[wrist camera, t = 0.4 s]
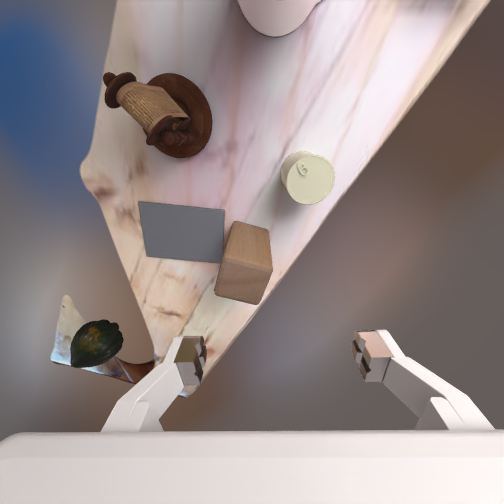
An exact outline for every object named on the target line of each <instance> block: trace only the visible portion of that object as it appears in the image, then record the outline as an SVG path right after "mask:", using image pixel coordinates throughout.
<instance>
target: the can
mask: <svg viewBox="0 0 504 504" xmlns="http://www.w3.org/2000/svg"><path fill="white" fill-rule="evenodd" d="M281 180H282V183H283V184H284V186H285V187H286V188H287V191H288V193H289V195H290V196H291V198H292V199H293V200H295V201H296V202H298V203H300V204H304V205H311V204H315V203H318V202H320V201H322V200H323V199H324V198H325V197H326V196H327V195H328V194H329V193H330V191H331V190H332V188H333V185H334V181H335V173H334V169H333V167H332V165H331V163H330V162H329V161H328V160H327V159H325V158H324V157H322V156H318V155H313V154H311V153H309V152H306V151H298V152H295V153H293V154H291V155H290V156H289V157H287V158H286V160H285V161H284V163H283V165H282V167H281Z"/></svg>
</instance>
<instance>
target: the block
mask: <svg viewBox="0 0 504 504" xmlns="http://www.w3.org/2000/svg"><path fill="white" fill-rule="evenodd" d="M272 272H273V267H272V258H271V249H270V240H269V231H268V230H266V229H263V228H260V227H256V226H252V225H249V224H245V223H242V222H238V221H234V222H233V224H232V227H231V231H230V234H229V237H228V241H227V244H226V248H225V251H224V254H223V258H222V262H221V265H220V269H219V273H218V277H217V281H216V285H215V288H214V291H215V295H217V296H220V297H224V298H229V299H233V300H237V301H241V302H245V303H249V304H254V305H258V304H259V303H260V301H261V299H262V296H263V294H264V291H265V289H266V286H267V284H268V282H269V279H270V277H271V274H272Z"/></svg>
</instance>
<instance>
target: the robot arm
mask: <svg viewBox="0 0 504 504" xmlns="http://www.w3.org/2000/svg"><path fill="white" fill-rule="evenodd" d="M320 1H322V0H238V3H239V5H240V8H241V10H242V12H243V14H244V16H245V18H246V19H247V21H248V22H249V23H250V24H251V25H252V26H253V27H254V28H255V29H256V30H257V31H259V32H260V33H262V34H265V35H268V36H274V37H277V36H283V35H286V34H289V33H290V32H292V31H294V30H295V29H297V28H298V27H299V26H300V25H301V24H302V23H303V22H304V21H305V19H306V18H307V17H308V15H309V14H310V12H311V10H312V9H313V8H314V6H315V5H316V4H317V3H319V2H320ZM354 338H355V340H354V341H353V342H352V352H353V356H354V359H355V361H356V362H358V363H359V364H360V367H359V370H360V372H361V374H362V377H363V379H364V381H365V382H383V384H384V385H385V386H386V387H387V388H389V389H390V390H391V391H392V392H393V393H394V394H395V395H396V396H397V397H398V398H399V399H400V400H401V401H402V402H403V403H405V405H406V406H407V407H408V408H410V409H411V410H412V411H413V412H414V413H415V414H416V415H417V416H418V417H419V418H420V419H419V421H418V423H417V425H416V427H415V429H414V430H379V431H378V430H375V431H374V430H369V431H367V430H366V431H364V430H363V431H217V432H216V431H215V432H214V431H213V432H210V431H209V432H164V431H163V429H162V426H161V425H160V423H159V421H158V419H159V418H160V417H161V415H162V414H163V413H164V412H165V410H166V409H167V408H168V406H169V405H170V404H171V403H172V402H173V400H174V399H175V398H176V397H177V395H178V394H179V393H180V392H181V390H182V389H183V388H184V386H189V385H200V384H201V380H202V376H203V370H202V367H203V366H204V365H205V363H206V357H207V350H206V346H205V345H204V338H203V336H175V338H174V339H173V341H172V343H171V345H170V348H169V350H168V352H167V355H166V357H165V359H164V361H163V363H161V364H159V365H158V366H157V367H155V368H154V369H153V370H152V371H151V372H150V373H149V374H148V375H146V376H145V377H144V378H143V379H142V380H141V381H140V382H139V383H137V384H136V385H135V386H134V387H133V388H132V389H131V390H129V391H128V392H127V393H126V394H125V395H124V396H123V397H122V398H120V399H119V400H118V402H117V403H116V405H115V407H114V409H113V411H112V412H111V414H110V416H109V418H108V420H107V422H106V423H105V426H104V427H103V429H102V431H101V432H60V433H57V432H55V433H54V432H53V433H51V432H49V433H17V434H14V435H11V436H9V437H8V438H6V439H4V440H3V441H1V442H0V504H504V430H495V429H494V428H493V426H492V425H491V424H490V423H489V422H488V420H487V419H486V418H485V417H484V415H483V414H482V413H481V412H480V411H479V409H478V408H477V407H476V406H475V405H474V403H473V402H472V401H471V400H470V398H469V397H468V396H467V395H465V394H464V393H462V392H461V391H459V390H458V389H456V388H455V387H453V386H452V385H450V384H449V383H447V382H446V381H444V380H443V379H441V378H439V377H438V376H437V375H435V374H433V373H432V372H430V371H429V370H427V369H426V368H424V367H423V366H421V365H420V364H418V363H417V362H415V361H414V360H412V359H411V358H409V357H405V356H404V354H403V353H402V351H401V350H400V348H399V347H398V346H397V344H396V343H395V341H394V340H393V338H392V337H391V335H390V334H389V332H388V331H387V330H362V331H355V332H354Z"/></svg>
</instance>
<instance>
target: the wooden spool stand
mask: <svg viewBox="0 0 504 504" xmlns="http://www.w3.org/2000/svg"><path fill="white" fill-rule="evenodd" d="M103 81H104V83H105V85H106V86H107V89H106V92H105V103H106V105H107V106H108V107H110V108H118V107H120V106H122V107H123V108H124V109H125V110H126V111H127V112H128V113H129V114H130V115H131V116H132V117H133V118H134V119H135V120H136V121H137V122H138V123H139V124H140V125H141V126H142V127H143V130H144V132H145V134H146V135H147V140H146V143H147V144H148V145H154V146H155V147H156V148H157V149H159V150H160V151H161V152H163V153H165V154H167V155H169V156H172V157H176V158H186V157H191V156H193V155H195V154H197V153H199V152H200V151H201V150H202V149H203V148H204V147H205V146H206V144H207V142H208V140H209V138H210V135H211V130H212V115H211V110H210V107H209V104H208V102H207V100H206V98H205V96H204V95H203V93H202V92H201V90H200V89H199V88H198V87H197V86H196V85H195V84H194V83H193V82H191V81H190V80H188V79H187V78H185V77H183V76H181V75H178V74H172V73H166V74H161V75H158V76H156V77H154V78H153V79H152V80H150V81H149V82H148V83H147V85H146V84H143V83H140V82H137V81H136V77H135V76H134V75H133V74H132V73H130V72H126V73H121V74H119V75H118V76H116V75H114V74H113V73H110V72H108V73H105V74H104V76H103Z"/></svg>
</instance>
